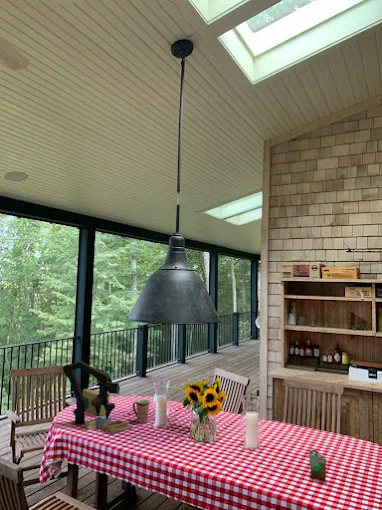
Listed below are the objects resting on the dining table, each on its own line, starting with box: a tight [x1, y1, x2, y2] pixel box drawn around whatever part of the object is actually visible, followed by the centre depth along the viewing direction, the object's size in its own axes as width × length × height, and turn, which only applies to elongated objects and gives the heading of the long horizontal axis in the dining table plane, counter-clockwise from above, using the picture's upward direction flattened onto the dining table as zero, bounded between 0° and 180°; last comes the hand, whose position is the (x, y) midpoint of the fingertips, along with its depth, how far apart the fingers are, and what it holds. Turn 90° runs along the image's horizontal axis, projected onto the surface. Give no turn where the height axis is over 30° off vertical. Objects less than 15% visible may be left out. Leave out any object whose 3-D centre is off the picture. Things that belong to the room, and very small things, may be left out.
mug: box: [132, 398, 151, 424], centre depth 268 cm, size 13×9×14 cm
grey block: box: [93, 415, 112, 428], centre depth 259 cm, size 4×10×5 cm, turn 136°
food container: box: [307, 448, 327, 481], centre depth 194 cm, size 12×6×10 cm, turn 5°
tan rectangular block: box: [84, 418, 97, 431], centre depth 252 cm, size 4×6×4 cm
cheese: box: [82, 388, 111, 417], centre depth 285 cm, size 22×10×15 cm, turn 58°
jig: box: [97, 419, 132, 435], centre depth 252 cm, size 14×16×3 cm
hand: (102, 417), depth 259 cm, fingers open, 9 cm apart
